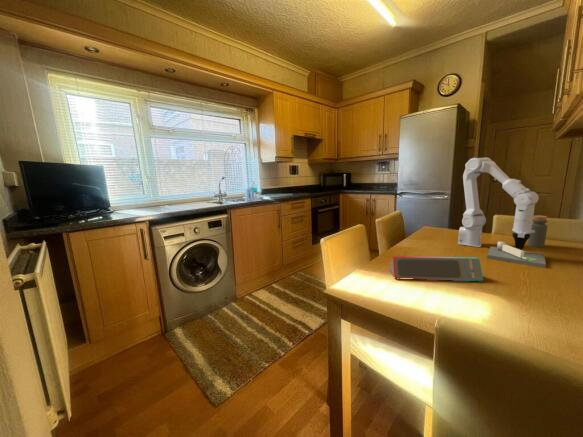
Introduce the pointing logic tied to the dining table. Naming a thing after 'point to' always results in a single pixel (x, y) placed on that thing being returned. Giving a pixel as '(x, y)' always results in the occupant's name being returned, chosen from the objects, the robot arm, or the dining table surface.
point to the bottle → (538, 232)
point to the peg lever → (510, 249)
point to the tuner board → (532, 257)
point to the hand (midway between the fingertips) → (518, 249)
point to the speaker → (437, 268)
